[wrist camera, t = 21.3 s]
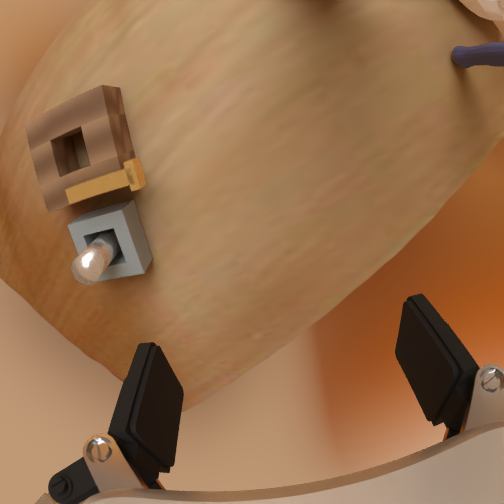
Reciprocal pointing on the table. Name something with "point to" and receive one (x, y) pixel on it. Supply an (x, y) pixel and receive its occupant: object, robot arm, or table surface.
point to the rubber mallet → (479, 55)
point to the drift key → (109, 182)
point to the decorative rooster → (486, 8)
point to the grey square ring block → (128, 234)
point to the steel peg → (96, 258)
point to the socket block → (95, 136)
